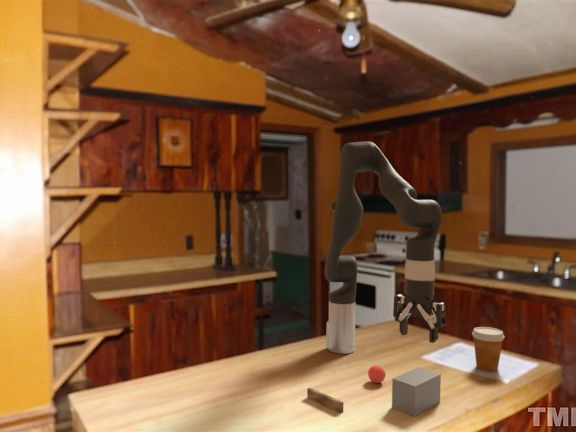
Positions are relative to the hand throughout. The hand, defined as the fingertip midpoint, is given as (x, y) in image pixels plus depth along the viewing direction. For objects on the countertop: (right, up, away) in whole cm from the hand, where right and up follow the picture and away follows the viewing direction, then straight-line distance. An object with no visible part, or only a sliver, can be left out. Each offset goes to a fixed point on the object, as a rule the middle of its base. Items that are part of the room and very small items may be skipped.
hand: (418, 338), depth 127 cm
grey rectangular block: (0, -18, +1) cm, 18 cm away
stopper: (-24, -18, +1) cm, 30 cm away
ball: (-8, -14, +15) cm, 22 cm away
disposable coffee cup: (+29, -17, +28) cm, 44 cm away
